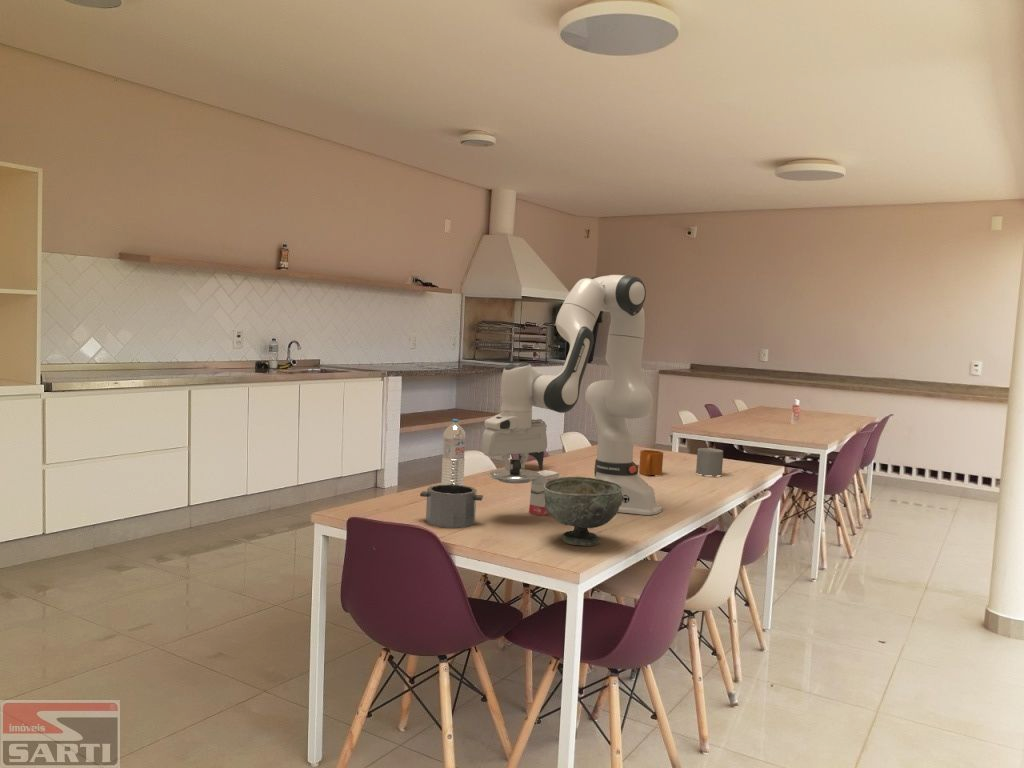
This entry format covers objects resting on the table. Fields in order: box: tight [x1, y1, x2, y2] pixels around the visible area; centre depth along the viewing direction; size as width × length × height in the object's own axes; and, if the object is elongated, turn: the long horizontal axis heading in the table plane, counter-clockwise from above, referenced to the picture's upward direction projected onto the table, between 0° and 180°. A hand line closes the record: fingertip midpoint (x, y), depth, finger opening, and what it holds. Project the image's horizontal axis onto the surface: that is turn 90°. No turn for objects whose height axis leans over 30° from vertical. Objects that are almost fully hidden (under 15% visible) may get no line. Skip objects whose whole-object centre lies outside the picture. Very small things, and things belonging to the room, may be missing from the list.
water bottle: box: [440, 418, 467, 486], centre depth 243 cm, size 7×7×25 cm
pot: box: [419, 484, 484, 529], centre depth 215 cm, size 17×13×9 cm
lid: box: [489, 458, 540, 484], centre depth 221 cm, size 14×14×6 cm
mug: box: [638, 449, 664, 477], centre depth 307 cm, size 9×12×9 cm
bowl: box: [544, 476, 623, 547], centre depth 201 cm, size 20×19×15 cm
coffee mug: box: [695, 447, 724, 476], centre depth 314 cm, size 13×10×10 cm
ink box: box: [528, 469, 560, 516], centre depth 232 cm, size 9×5×12 cm, turn 148°
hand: (514, 469), depth 221 cm, fingers closed on lid, 3 cm apart
